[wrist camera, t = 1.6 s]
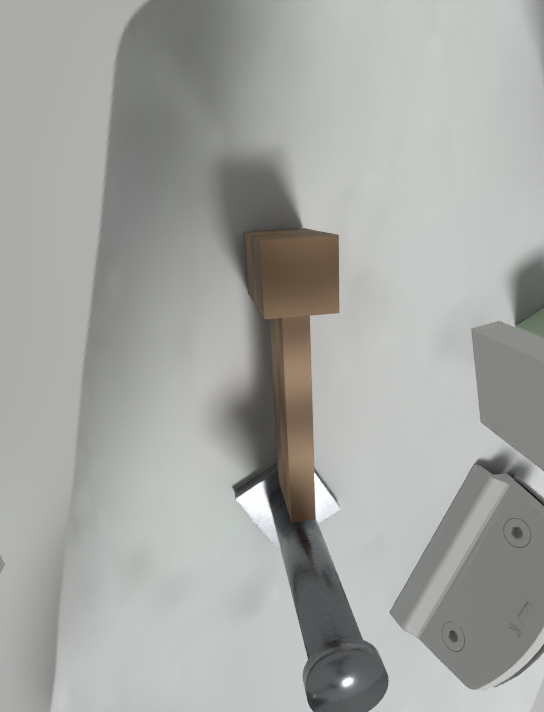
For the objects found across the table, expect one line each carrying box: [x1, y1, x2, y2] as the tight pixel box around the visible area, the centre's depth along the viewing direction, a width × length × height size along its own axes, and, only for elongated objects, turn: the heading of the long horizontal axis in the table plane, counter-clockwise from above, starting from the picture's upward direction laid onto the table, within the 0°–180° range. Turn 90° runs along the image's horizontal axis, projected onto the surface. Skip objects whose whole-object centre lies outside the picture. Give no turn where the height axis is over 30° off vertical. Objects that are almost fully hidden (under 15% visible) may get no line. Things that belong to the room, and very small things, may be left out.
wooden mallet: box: [244, 228, 339, 523], centre depth 30 cm, size 18×4×8 cm, turn 3°
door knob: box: [235, 463, 388, 712], centre depth 30 cm, size 6×6×16 cm
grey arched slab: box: [390, 464, 544, 690], centre depth 39 cm, size 17×5×10 cm, turn 157°
